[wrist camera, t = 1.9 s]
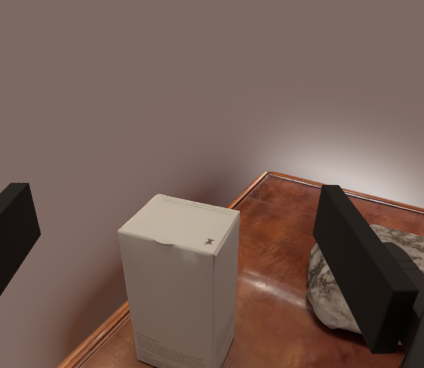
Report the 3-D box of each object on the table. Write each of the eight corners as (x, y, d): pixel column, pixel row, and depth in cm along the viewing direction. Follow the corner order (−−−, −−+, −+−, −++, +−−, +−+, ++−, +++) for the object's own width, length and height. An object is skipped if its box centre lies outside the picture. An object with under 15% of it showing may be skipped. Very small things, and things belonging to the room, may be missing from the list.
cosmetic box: (235, 337, 37) (247, 209, 29) (211, 396, 31) (218, 257, 24) (163, 312, 39) (158, 189, 32) (130, 361, 34) (114, 227, 27)
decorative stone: (472, 275, 44) (497, 217, 38) (508, 388, 34) (549, 332, 28) (310, 258, 50) (310, 206, 45) (301, 349, 41) (299, 297, 35)
